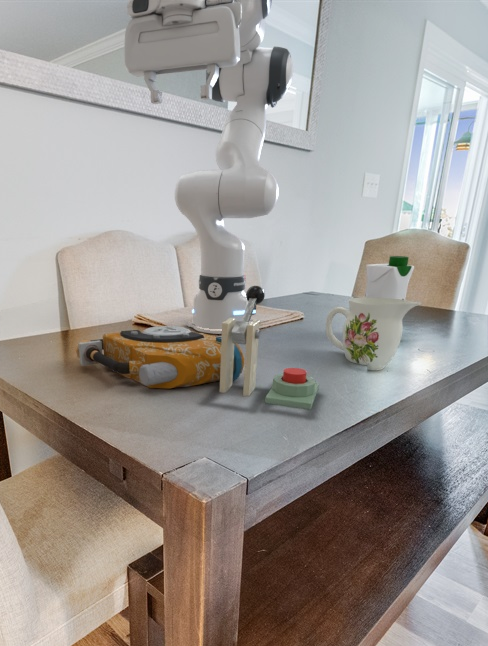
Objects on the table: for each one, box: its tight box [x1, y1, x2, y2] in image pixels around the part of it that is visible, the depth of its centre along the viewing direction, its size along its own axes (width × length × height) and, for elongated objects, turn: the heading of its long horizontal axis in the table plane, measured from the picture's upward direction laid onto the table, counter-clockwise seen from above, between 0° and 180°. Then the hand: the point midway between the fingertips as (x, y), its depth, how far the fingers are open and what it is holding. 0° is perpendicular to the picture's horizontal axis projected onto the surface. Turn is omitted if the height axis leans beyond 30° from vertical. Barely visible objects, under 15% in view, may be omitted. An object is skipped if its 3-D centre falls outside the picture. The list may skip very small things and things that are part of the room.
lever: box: [231, 285, 266, 346], centre depth 77 cm, size 13×3×3 cm, turn 159°
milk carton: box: [364, 255, 415, 300], centre depth 112 cm, size 9×9×20 cm
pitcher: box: [325, 296, 422, 371], centre depth 93 cm, size 11×18×14 cm, turn 46°
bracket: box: [219, 318, 261, 397], centre depth 75 cm, size 10×8×13 cm
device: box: [75, 325, 245, 390], centre depth 87 cm, size 23×8×30 cm
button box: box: [264, 373, 320, 410], centre depth 75 cm, size 10×7×4 cm
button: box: [282, 367, 308, 384], centre depth 74 cm, size 4×4×2 cm
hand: (180, 101), depth 81 cm, fingers open, 8 cm apart
